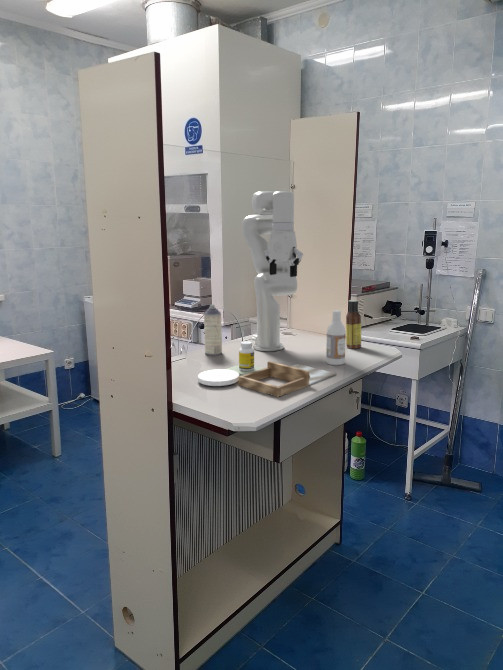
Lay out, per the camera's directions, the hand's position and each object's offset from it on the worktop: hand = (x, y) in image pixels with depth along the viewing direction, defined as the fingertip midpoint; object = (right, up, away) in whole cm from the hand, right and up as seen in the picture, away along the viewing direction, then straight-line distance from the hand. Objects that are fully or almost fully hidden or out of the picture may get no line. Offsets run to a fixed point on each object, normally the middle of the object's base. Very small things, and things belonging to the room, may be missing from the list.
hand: (283, 275), depth 195 cm
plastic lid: (-23, -38, -11) cm, 45 cm away
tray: (-13, -35, -3) cm, 38 cm away
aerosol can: (-27, -29, +24) cm, 46 cm away
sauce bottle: (+31, -27, +30) cm, 51 cm away
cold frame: (+1, -37, -11) cm, 38 cm away
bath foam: (+20, -32, +8) cm, 39 cm away
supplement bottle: (-13, -34, -3) cm, 36 cm away
